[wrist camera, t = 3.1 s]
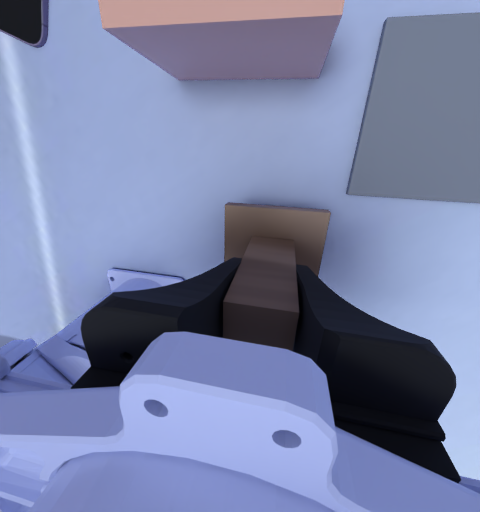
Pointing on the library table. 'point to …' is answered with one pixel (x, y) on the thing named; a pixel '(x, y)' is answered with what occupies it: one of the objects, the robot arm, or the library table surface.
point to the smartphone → (25, 20)
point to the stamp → (269, 269)
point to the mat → (422, 112)
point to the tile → (227, 36)
